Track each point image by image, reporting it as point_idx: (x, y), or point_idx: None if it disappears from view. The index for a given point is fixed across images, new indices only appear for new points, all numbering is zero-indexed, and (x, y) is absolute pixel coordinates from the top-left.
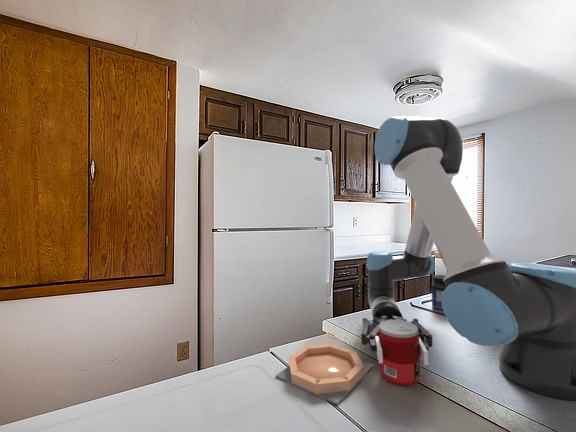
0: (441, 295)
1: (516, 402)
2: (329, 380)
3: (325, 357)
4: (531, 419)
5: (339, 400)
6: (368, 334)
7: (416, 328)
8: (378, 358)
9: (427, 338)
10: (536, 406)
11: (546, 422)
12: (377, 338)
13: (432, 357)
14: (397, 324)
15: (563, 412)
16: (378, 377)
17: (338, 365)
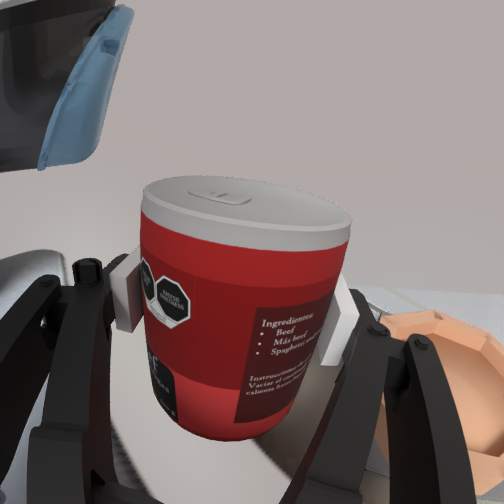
0: None
1: (38, 277)
2: (420, 318)
3: (481, 434)
4: (62, 259)
5: (382, 315)
6: (395, 471)
7: (164, 180)
8: None
9: (66, 288)
10: (26, 268)
11: (53, 254)
12: (342, 296)
13: (23, 455)
14: (235, 215)
15: (15, 258)
16: (300, 391)
17: None
